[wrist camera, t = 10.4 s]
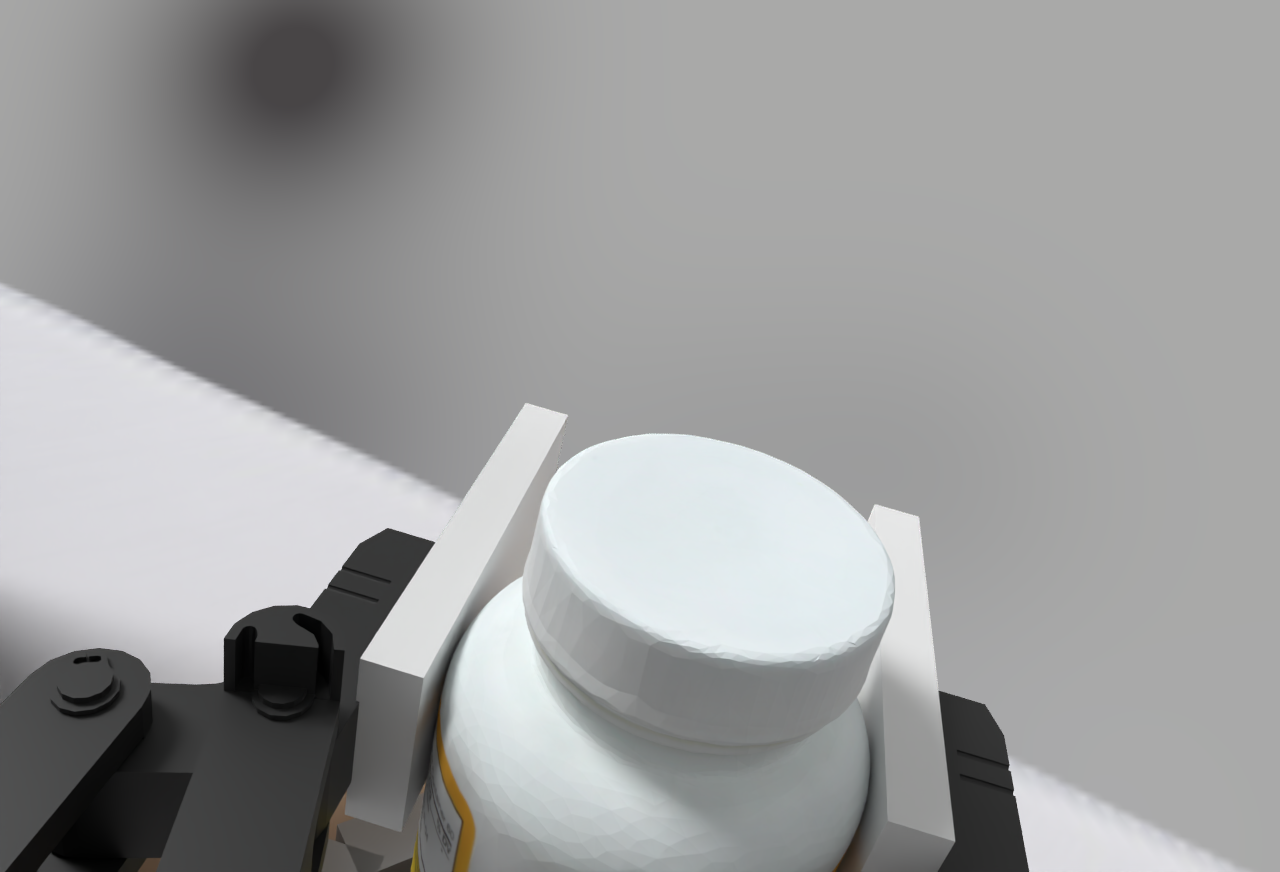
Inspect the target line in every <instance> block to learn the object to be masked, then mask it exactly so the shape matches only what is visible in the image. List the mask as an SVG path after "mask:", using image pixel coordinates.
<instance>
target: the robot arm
mask: <svg viewBox="0 0 1280 872" xmlns="http://www.w3.org/2000/svg"><path fill="white" fill-rule="evenodd" d="M567 419H568V415H566V414H562V413H559V412H555V411H552V410H548V409H545V408H541V407H538V406H534V405H531V404H528V403H526V404H525V405H524V407H523V408H522V410H521V411H520V413H519V415H518V416H517V418H516V419H515V421H514V422H513V424H512V425H511V427H510V428H509V430H508V431H507V433H506V435H505V436H504V438H503V439H502V441H501V442H500V444H499V445H498V447H497V448H496V450H495V451H494V453H493V455H492V456H491V458H490V459H489V461H488V462H487V464H486V466H485V467H484V468H483V470H482V471H481V473H480V475H479V476H478V478H477V479H476V481H475V482H474V484H473V485H472V487H471V488H470V490H469V491H468V493H467V495H466V496H465V498H464V499H463V501H462V502H461V504H460V505H459V507H458V508H457V510H456V511H455V513H454V515H453V516H452V518H451V519H450V521H449V522H448V524H447V525H446V527H445V528H444V530H443V532H442V533H441V535H440V536H439V538H438V539H437V541H436V542H433V541H429V540H426V539H423V538H419V537H416V536H413V535H409V534H406V533H403V532H399V531H396V530H393V529H389V528H387V529H385V530H383V531H382V532H380V533H378V534H376V535H374V536H373V537H371V538H369V539H367V540H365V541H364V542H362V543H360V544H359V545H358V546H357V548H356V549H355V550H354V552H353V553H352V554H351V556H350V557H349V558H348V560H347V561H346V562H345V563H344V565H343V566H342V569H341V571H338V573H337V574H336V575H335V576H334V578H333V579H332V580H331V582H330V583H329V585H328V588H327V589H325V590H324V591H323V592H322V593H321V595H320V596H319V597H318V599H317V600H316V601H315V603H314V604H313V605H312V606H311V608H306V607H302V606H298V605H293V606H272V607H269V608H265V609H262V610H258V611H255V612H252V613H250V614H249V615H247V616H246V617H244V618H242V619H241V620H239V621H238V622H236V623H235V624H234V625H233V626H232V628H231V629H230V631H229V632H228V633H227V635H226V636H225V638H224V682H222V683H217V684H201V685H192V684H164V683H151V679H150V672H149V671H148V669H147V668H146V667H145V666H144V664H143V663H142V662H141V660H140V659H138V658H136V657H134V656H131V655H129V654H127V653H125V652H123V651H118V650H110V649H102V648H96V649H89V650H81V651H74V652H71V653H68V654H66V655H63V656H60V657H58V658H55V659H53V660H50V661H49V662H47V663H46V664H44V665H43V666H42V667H40V668H39V669H38V670H36V671H35V672H33V673H32V674H31V675H30V676H29V677H28V678H27V679H26V680H25V681H24V682H23V683H22V684H21V685H20V686H19V687H18V688H17V689H16V690H15V691H14V692H13V693H12V694H11V695H10V696H8V697H7V698H6V699H5V700H4V701H3V702H2V703H1V704H0V872H138V870H139V869H140V868H141V866H142V865H143V863H144V862H145V860H146V859H147V858H161V859H160V862H159V865H158V867H157V870H156V872H322V867H323V863H324V858H325V853H326V849H327V844H328V837H329V826H330V819H331V817H332V815H333V814H334V812H335V810H336V808H337V807H338V805H339V803H340V801H341V799H342V798H343V796H344V794H345V792H346V791H347V796H346V806H345V815H348V816H351V817H354V818H358V819H361V820H364V821H367V822H370V823H373V824H376V825H380V826H383V827H386V828H389V829H392V830H395V831H399V832H402V830H403V827H404V825H405V823H406V821H407V819H408V817H409V815H410V813H411V811H412V809H413V807H414V805H415V803H416V801H417V798H418V796H419V794H420V792H421V790H422V788H423V786H424V784H425V782H426V779H427V774H428V769H429V763H430V756H431V752H432V744H433V737H434V732H435V727H436V722H437V716H438V710H439V704H440V699H441V694H442V690H443V686H444V682H445V678H446V674H447V671H448V668H449V665H450V662H451V659H452V656H453V654H454V652H455V650H456V648H457V645H458V643H459V641H460V640H461V638H462V636H463V635H464V633H465V631H466V630H467V628H468V626H469V625H470V623H471V622H472V621H473V619H474V618H475V617H476V615H477V614H478V613H479V612H480V611H481V609H482V608H483V607H484V606H485V605H486V604H487V603H488V602H489V601H490V600H491V599H492V598H493V597H495V596H496V595H497V594H498V593H499V592H500V591H502V590H503V589H504V588H505V587H507V586H508V585H509V584H511V583H512V582H514V581H515V580H517V579H518V578H520V577H522V576H523V573H524V567H525V563H526V560H527V558H528V555H529V552H530V550H531V545H532V541H533V537H534V532H535V528H536V523H537V519H538V515H539V510H540V506H541V501H542V499H543V496H544V494H545V491H546V489H547V486H548V484H549V482H550V481H551V479H552V477H553V476H554V475H555V473H556V471H557V466H558V462H559V457H560V452H561V448H562V443H563V438H564V433H565V428H566V423H567ZM868 523H869V524H870V526H871V527H872V528H873V530H874V531H875V533H876V534H877V535H878V537H879V539H880V540H881V542H882V544H883V545H884V547H885V549H886V551H887V554H888V556H889V558H890V560H891V563H892V566H893V570H894V576H895V598H894V605H893V612H892V616H891V619H890V621H889V623H888V626H887V628H886V630H885V633H884V635H883V637H882V640H881V642H880V644H879V647H878V649H877V651H876V654H875V656H874V658H873V661H872V663H871V665H870V669H869V672H868V675H867V678H866V681H865V683H864V685H863V687H862V689H861V692H860V693H859V695H858V696H857V699H858V701H859V704H860V707H861V710H862V713H863V717H864V721H865V725H866V729H867V734H868V741H869V751H870V777H869V787H868V794H867V799H866V803H865V807H864V811H863V814H862V817H861V820H860V823H859V825H858V827H857V830H856V832H855V834H854V837H853V839H852V841H851V844H850V846H849V847H848V849H847V851H846V853H845V855H844V857H843V859H842V861H841V863H840V864H839V866H838V868H837V870H836V872H1029V868H1028V863H1027V857H1026V852H1025V847H1024V841H1023V836H1022V830H1021V825H1020V820H1019V814H1018V809H1017V803H1016V798H1015V796H1013V791H1014V787H1013V782H1012V776H1011V771H1008V769H1009V760H1008V755H1007V749H1006V744H1005V739H1004V735H1003V733H1002V731H1001V730H1000V729H999V727H998V725H997V723H996V722H995V720H994V719H993V717H992V715H991V714H990V712H989V710H988V709H987V707H986V706H985V704H981V703H978V702H975V701H971V700H968V699H965V698H961V697H958V696H955V695H951V694H948V693H945V692H941V691H938V683H937V674H936V665H935V657H934V647H933V640H932V630H931V621H930V612H929V603H928V594H927V585H926V576H925V567H924V559H923V550H922V541H921V532H920V523H919V517H917V516H914V515H911V514H907V513H904V512H900V511H897V510H893V509H890V508H886V507H883V506H880V505H876V504H875V505H874V507H873V510H872V512H871V514H870V517H869V519H868Z"/></svg>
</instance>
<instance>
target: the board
mask: <svg viewBox="0 0 1280 872" xmlns="http://www.w3.org/2000/svg"><path fill="white" fill-rule="evenodd" d="M425 785H426V782H425V784H424V786H423V788H422V790H421V792H420V794H419V796H418V798H417V801H416V803H415V805H414V807H413V809H412V811H411V813H410V815H409V817H408V819H407V821H406V823H405V825H404V827H403V830H402V832H399V831H395V830H392V829H389V828H386V827H383V826H380V825H376V824H373V823H370V822H367V821H364V820H361V819H358V818H354V817H351V816H348V815H345V806H346V796H347V791H346V792H345V794H344V796H343V798H342V799H341V801H340V803H339V805H338V807H337V808H336V810H335V812H334V814H333V815H332V817H331V819H330V826H329V837H328V844H327V849H326V853H325V858H324V863H323V867H322V872H411V865H412V860H413V854H414V847H415V842H416V837H417V831H418V826H419V820H420V815H421V809H422V803H423V795H424V790H425ZM160 859H161V858H147V859H146V860H145V862H144V863H143V865H142V866H141V868H140V869H139V870H138V872H156V870H157V867H158V865H159V862H160Z"/></svg>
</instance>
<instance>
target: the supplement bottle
mask: <svg viewBox="0 0 1280 872" xmlns="http://www.w3.org/2000/svg"><path fill="white" fill-rule="evenodd" d="M894 598H895V576H894V570H893V566H892V563H891V560H890V558H889V556H888V554H887V551H886V549H885V547H884V545H883V544H882V542H881V540H880V539H879V537H878V535H877V534H876V533H875V531H874V530H873V528H872V527H871V526H870V524H869V523H868V522H867V521H866V520H865V519H864V518H863V516H862V515H861V514H860V513H859V512H857V511H856V510H855V509H854V508H853V507H852V506H851V505H850V504H849V503H848V502H847V501H846V500H845V499H843V498H842V497H841V496H840V495H838V494H837V493H836V492H835V491H833V490H832V489H831V488H829V487H828V486H826V485H825V484H823V483H822V482H820V481H819V480H817V479H815V478H814V477H812V476H810V475H809V474H807V473H806V472H804V471H802V470H800V469H798V468H796V467H794V466H792V465H790V464H788V463H786V462H784V461H781V460H779V459H776V458H774V457H771V456H769V455H767V454H764V453H762V452H759V451H756V450H752V449H749V448H747V447H744V446H740V445H736V444H732V443H729V442H723V441H718V440H714V439H710V438H703V437H697V436H691V435H683V434H644V435H636V436H629V437H623V438H619V439H615V440H610V441H606V442H603V443H600V444H597V445H594V446H592V447H589V448H587V449H585V450H583V451H581V452H580V453H578V454H577V455H575V456H574V457H572V458H571V459H570V460H569V461H567V462H566V463H565V464H564V465H562V466H561V467H560V468H559V470H558V471H557V472H556V473H555V475H554V476H553V477H552V479H551V481H550V482H549V484H548V486H547V489H546V491H545V494H544V496H543V499H542V501H541V506H540V510H539V515H538V519H537V523H536V528H535V532H534V537H533V541H532V545H531V550H530V552H529V555H528V558H527V560H526V563H525V567H524V573H523V576H522V577H520V578H518V579H517V580H515V581H514V582H512V583H511V584H509V585H508V586H507V587H505V588H504V589H503V590H502V591H500V592H499V593H498V594H497V595H496V596H495V597H493V598H492V599H491V600H490V601H489V602H488V603H487V604H486V605H485V606H484V607H483V608H482V609H481V611H480V612H479V613H478V614H477V615H476V617H475V618H474V619H473V621H472V622H471V623H470V625H469V626H468V628H467V630H466V631H465V633H464V635H463V636H462V638H461V640H460V641H459V643H458V645H457V648H456V650H455V652H454V654H453V656H452V659H451V662H450V665H449V668H448V671H447V674H446V678H445V682H444V686H443V690H442V694H441V699H440V704H439V710H438V716H437V722H436V727H435V732H434V737H433V744H432V752H431V756H430V763H429V769H428V774H427V779H426V785H425V790H424V795H423V803H422V809H421V815H420V820H419V826H418V831H417V837H416V842H415V847H414V854H413V860H412V865H411V872H836V870H837V868H838V866H839V864H840V863H841V861H842V859H843V857H844V855H845V853H846V851H847V849H848V847H849V846H850V844H851V841H852V839H853V837H854V834H855V832H856V830H857V827H858V825H859V823H860V820H861V817H862V814H863V811H864V807H865V803H866V799H867V794H868V787H869V777H870V751H869V741H868V734H867V729H866V725H865V721H864V717H863V713H862V710H861V707H860V704H859V701H858V699H857V696H858V695H859V693H860V692H861V689H862V687H863V685H864V683H865V681H866V678H867V675H868V672H869V669H870V665H871V663H872V661H873V658H874V656H875V654H876V651H877V649H878V647H879V644H880V642H881V640H882V637H883V635H884V633H885V630H886V628H887V626H888V623H889V621H890V619H891V616H892V612H893V605H894Z"/></svg>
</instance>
